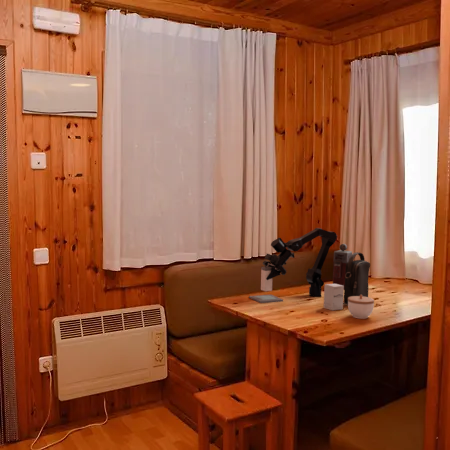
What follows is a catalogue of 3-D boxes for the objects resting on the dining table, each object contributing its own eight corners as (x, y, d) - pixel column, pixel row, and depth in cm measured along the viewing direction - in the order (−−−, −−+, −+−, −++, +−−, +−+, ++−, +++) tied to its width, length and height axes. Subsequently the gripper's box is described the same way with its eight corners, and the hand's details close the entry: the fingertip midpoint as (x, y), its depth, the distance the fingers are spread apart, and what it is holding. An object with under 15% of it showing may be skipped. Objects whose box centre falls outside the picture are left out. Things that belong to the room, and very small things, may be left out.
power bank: (268, 289, 295) (268, 266, 294) (272, 290, 291) (272, 267, 290) (260, 289, 293) (261, 266, 292) (264, 291, 289) (265, 268, 288)
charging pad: (271, 296, 302) (271, 294, 302) (283, 301, 289) (283, 299, 289) (249, 297, 296) (249, 295, 296) (260, 303, 283) (260, 301, 283)
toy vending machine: (331, 288, 328) (332, 244, 326) (337, 285, 337) (339, 242, 335) (344, 290, 323) (346, 245, 321) (350, 287, 333) (352, 243, 330)
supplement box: (332, 310, 270) (333, 286, 269) (323, 307, 277) (324, 284, 276) (343, 309, 274) (344, 285, 273) (334, 306, 280) (335, 283, 279)
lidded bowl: (374, 321, 251) (375, 298, 250) (347, 319, 254) (348, 296, 253) (372, 314, 264) (373, 293, 263) (346, 312, 266) (347, 291, 265)
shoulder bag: (357, 297, 303) (359, 249, 301) (372, 300, 297) (374, 251, 295) (339, 304, 285) (341, 253, 283) (355, 307, 279) (357, 255, 277)
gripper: (265, 246, 300) (248, 266, 297) (282, 250, 283) (263, 271, 280) (277, 259, 304) (260, 279, 301) (294, 264, 287) (276, 285, 284)
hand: (264, 278), depth 291 cm, fingers closed on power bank, 5 cm apart
